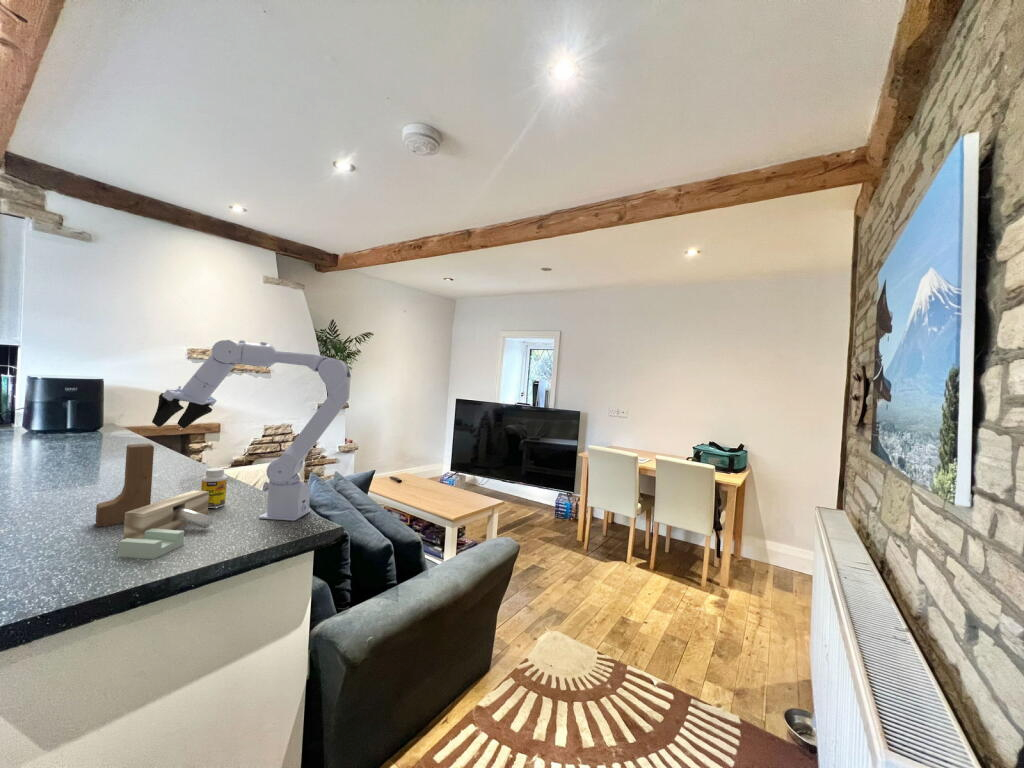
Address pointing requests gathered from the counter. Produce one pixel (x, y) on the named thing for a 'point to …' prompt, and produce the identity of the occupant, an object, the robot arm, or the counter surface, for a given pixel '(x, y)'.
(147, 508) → the beam
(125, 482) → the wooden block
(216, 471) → the supplement bottle
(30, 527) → the counter surface
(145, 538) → the v block
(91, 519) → the counter surface
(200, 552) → the counter surface
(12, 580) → the counter surface
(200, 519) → the axle
